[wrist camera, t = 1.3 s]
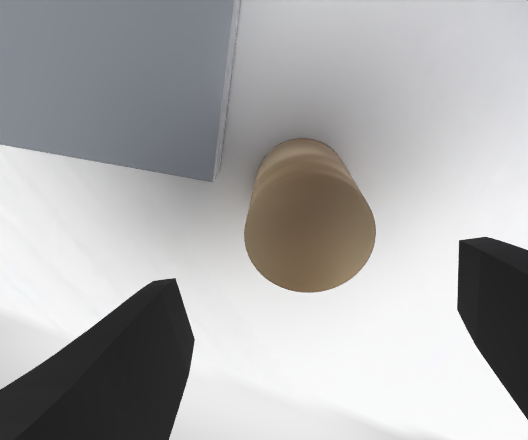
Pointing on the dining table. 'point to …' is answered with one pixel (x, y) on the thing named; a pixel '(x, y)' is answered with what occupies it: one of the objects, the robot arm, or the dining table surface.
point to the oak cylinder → (307, 219)
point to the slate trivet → (119, 80)
